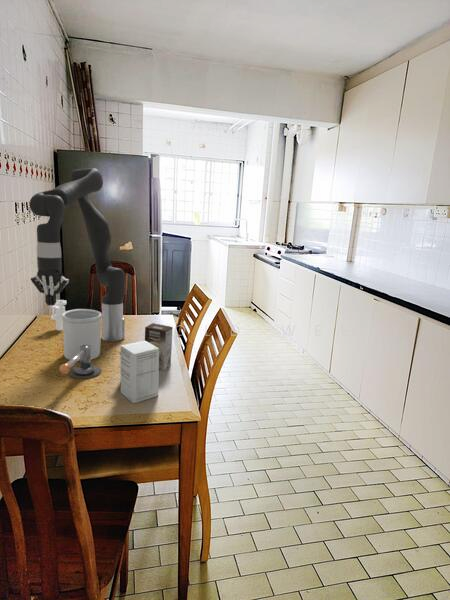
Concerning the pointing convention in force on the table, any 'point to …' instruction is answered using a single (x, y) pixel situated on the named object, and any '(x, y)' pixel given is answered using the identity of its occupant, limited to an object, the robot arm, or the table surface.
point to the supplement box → (139, 371)
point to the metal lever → (85, 362)
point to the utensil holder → (81, 331)
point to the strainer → (58, 313)
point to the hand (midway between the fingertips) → (51, 304)
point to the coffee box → (160, 342)
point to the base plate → (96, 373)
